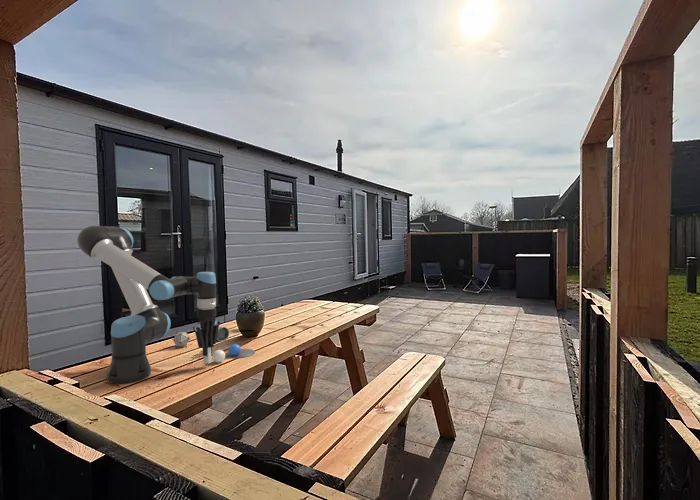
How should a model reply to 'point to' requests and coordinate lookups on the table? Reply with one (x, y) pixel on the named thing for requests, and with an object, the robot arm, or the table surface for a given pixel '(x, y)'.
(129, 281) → the robot arm
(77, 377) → the table surface
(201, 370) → the table surface
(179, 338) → the grey spiked polyhedron
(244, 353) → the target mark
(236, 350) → the blue ball
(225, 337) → the ceramic mug
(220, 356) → the white ball
